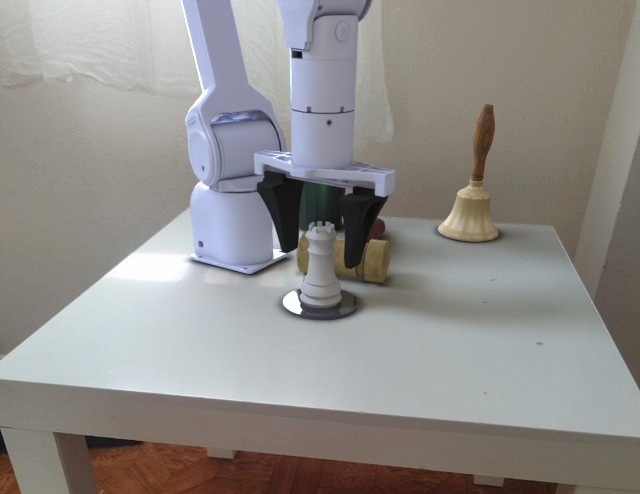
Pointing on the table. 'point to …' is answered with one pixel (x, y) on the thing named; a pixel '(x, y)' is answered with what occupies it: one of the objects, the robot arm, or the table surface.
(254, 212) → the robot arm
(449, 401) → the table surface
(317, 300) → the rook chess piece
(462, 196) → the hand bell
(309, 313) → the coaster
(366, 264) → the gavel
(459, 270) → the table surface
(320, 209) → the potion bottle
